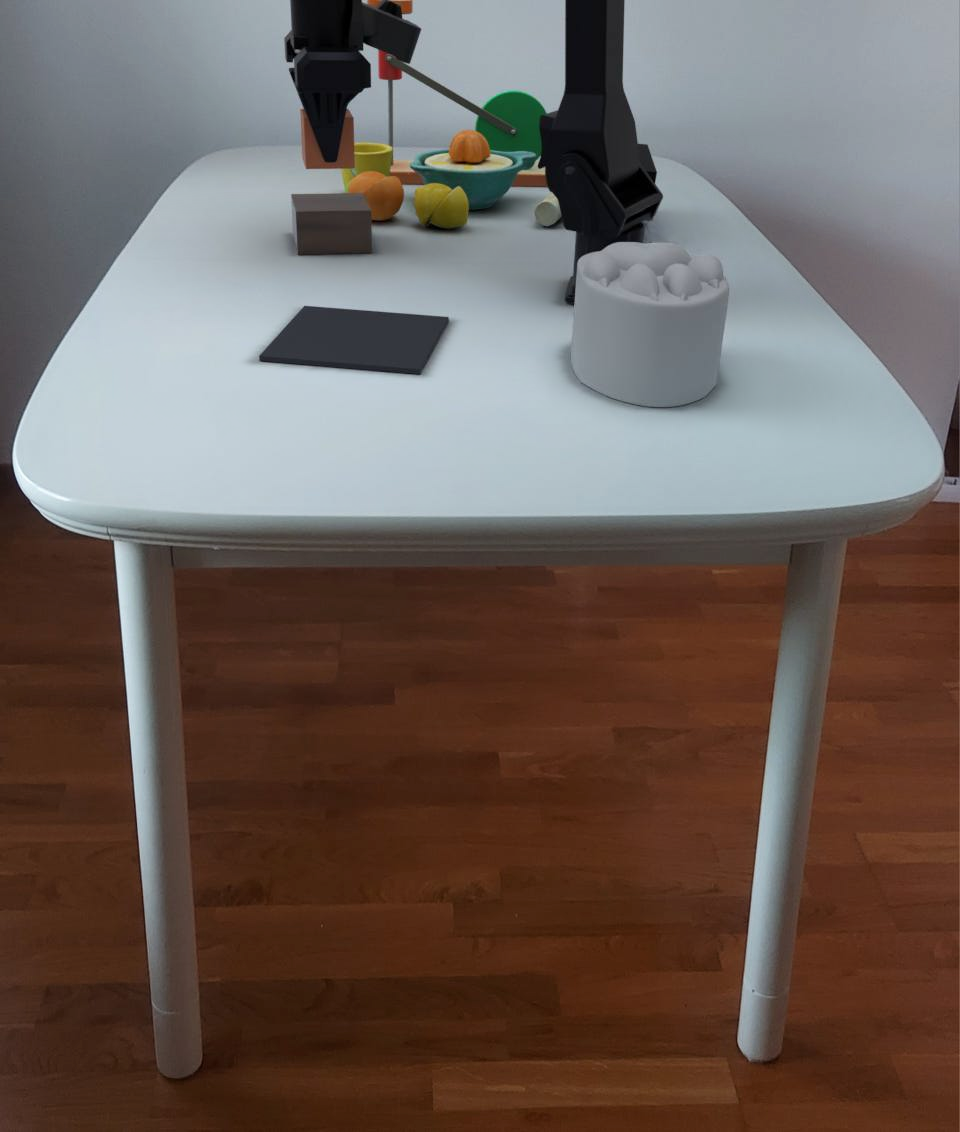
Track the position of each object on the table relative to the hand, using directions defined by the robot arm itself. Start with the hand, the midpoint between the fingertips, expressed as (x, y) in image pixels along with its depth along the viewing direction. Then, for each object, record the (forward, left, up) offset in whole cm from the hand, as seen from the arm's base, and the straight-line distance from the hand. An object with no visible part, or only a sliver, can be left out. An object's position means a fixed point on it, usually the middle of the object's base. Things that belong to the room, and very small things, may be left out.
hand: (328, 156), depth 110 cm
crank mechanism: (+32, -8, -8) cm, 34 cm away
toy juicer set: (+16, -11, -8) cm, 21 cm away
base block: (0, 0, -8) cm, 8 cm away
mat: (-26, -9, -8) cm, 29 cm away
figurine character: (+15, -27, -8) cm, 32 cm away
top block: (0, 0, -1) cm, 1 cm away
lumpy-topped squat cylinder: (-28, -31, -8) cm, 43 cm away
